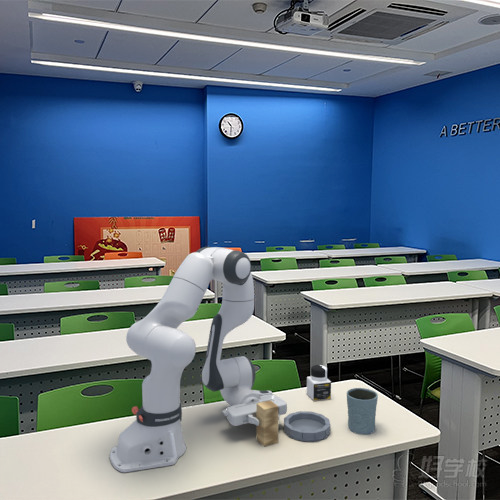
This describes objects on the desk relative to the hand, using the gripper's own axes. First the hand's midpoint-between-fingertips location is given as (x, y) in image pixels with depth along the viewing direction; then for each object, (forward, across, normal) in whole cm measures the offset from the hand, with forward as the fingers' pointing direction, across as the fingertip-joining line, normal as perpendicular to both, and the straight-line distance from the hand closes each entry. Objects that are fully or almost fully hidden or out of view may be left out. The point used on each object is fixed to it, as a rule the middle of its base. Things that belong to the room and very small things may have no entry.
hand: (268, 421), depth 153 cm
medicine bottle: (-21, +34, +7) cm, 41 cm away
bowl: (-1, +15, +7) cm, 17 cm away
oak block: (-1, 0, +7) cm, 7 cm away
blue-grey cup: (+6, +32, +7) cm, 33 cm away
